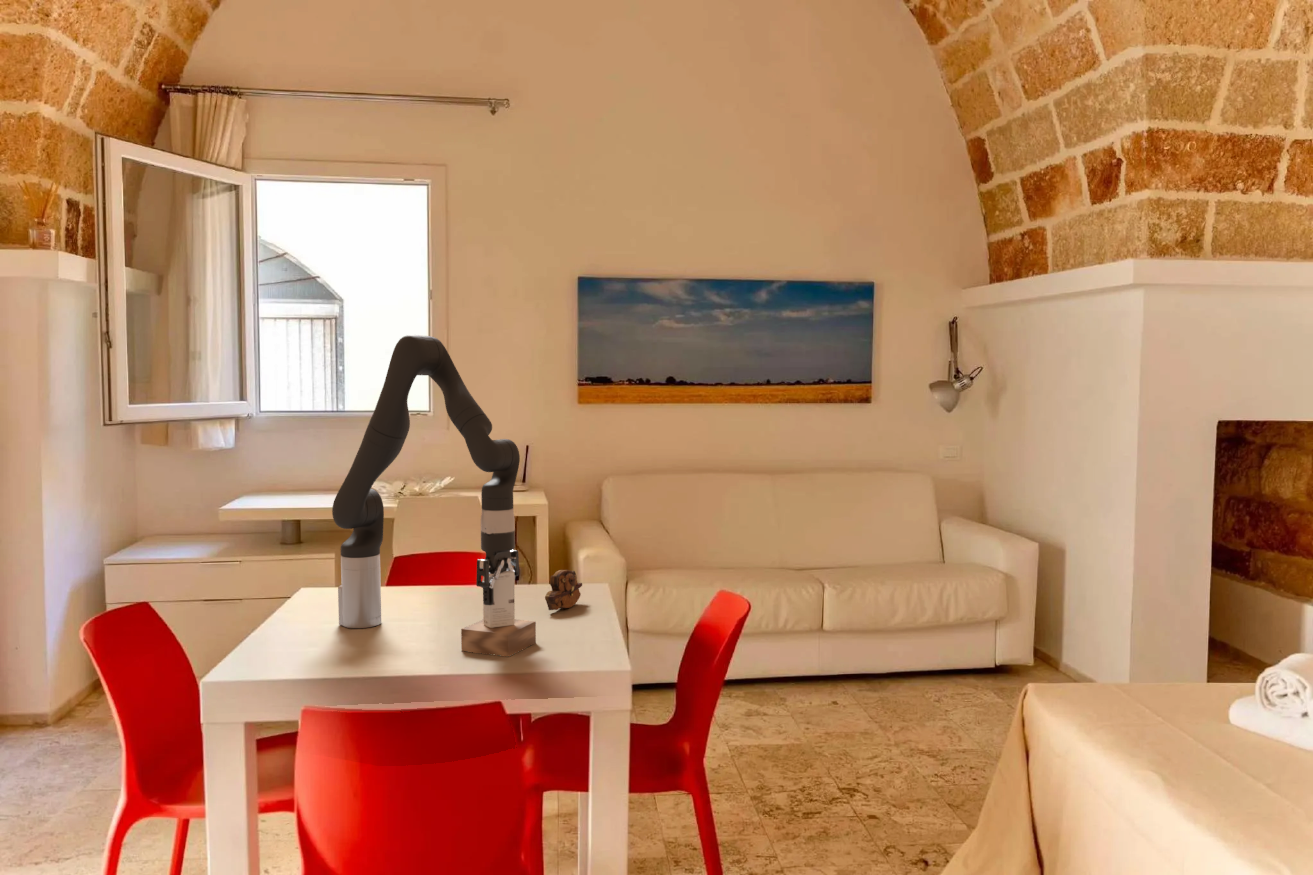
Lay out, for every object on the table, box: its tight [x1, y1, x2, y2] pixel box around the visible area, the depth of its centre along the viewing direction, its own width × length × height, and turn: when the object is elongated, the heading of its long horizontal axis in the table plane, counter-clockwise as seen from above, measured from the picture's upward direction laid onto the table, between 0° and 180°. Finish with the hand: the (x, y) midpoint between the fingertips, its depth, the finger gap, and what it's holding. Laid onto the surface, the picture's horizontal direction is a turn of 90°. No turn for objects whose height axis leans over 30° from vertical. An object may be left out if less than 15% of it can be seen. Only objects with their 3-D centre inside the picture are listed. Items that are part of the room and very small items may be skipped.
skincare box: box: [482, 570, 516, 628], centre depth 225 cm, size 6×4×12 cm
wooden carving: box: [544, 569, 583, 611], centre depth 262 cm, size 16×5×10 cm, turn 161°
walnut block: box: [460, 618, 537, 657], centre depth 225 cm, size 12×12×5 cm
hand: (498, 600), depth 225 cm, fingers open, 8 cm apart
